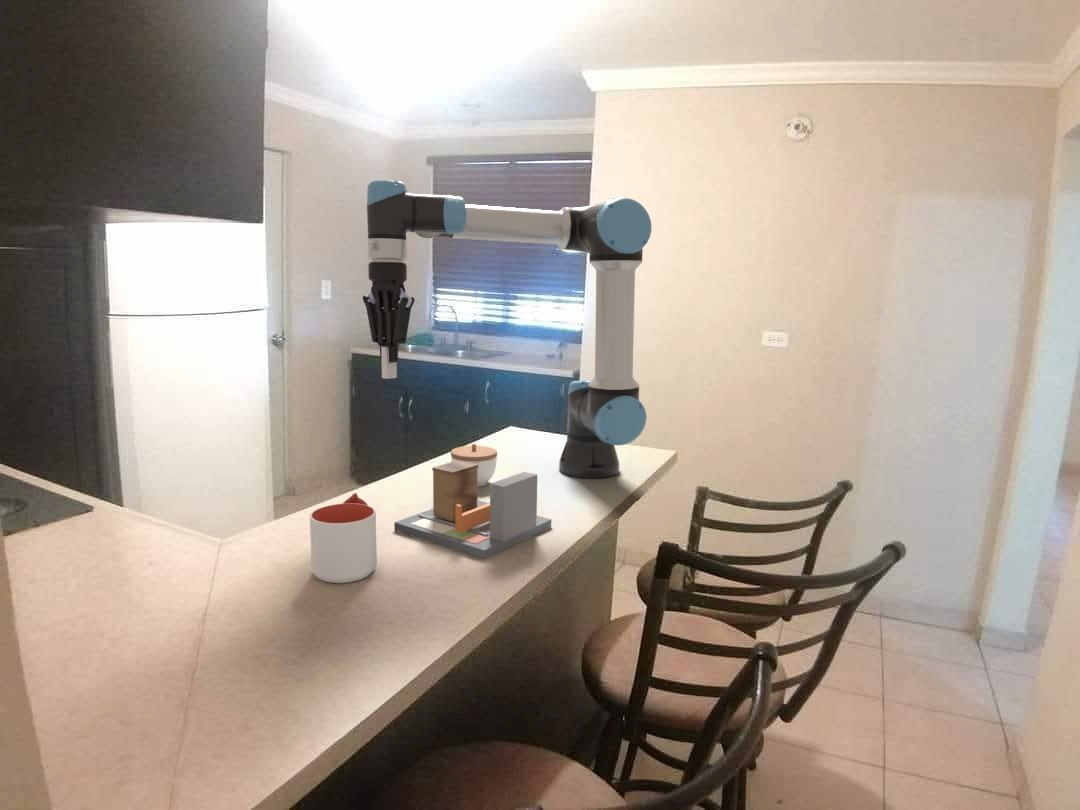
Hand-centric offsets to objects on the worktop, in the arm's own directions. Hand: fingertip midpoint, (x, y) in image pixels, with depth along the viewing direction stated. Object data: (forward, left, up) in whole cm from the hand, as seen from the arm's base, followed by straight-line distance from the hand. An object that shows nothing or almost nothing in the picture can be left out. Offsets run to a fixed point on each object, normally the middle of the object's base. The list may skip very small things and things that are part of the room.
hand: (389, 377), depth 142 cm
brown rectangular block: (+2, +20, -25) cm, 32 cm away
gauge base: (+2, +25, -26) cm, 36 cm away
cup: (+30, +22, -27) cm, 46 cm away
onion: (+18, +10, -27) cm, 34 cm away
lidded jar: (-21, +5, -27) cm, 34 cm away
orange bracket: (+5, +28, -24) cm, 37 cm away
